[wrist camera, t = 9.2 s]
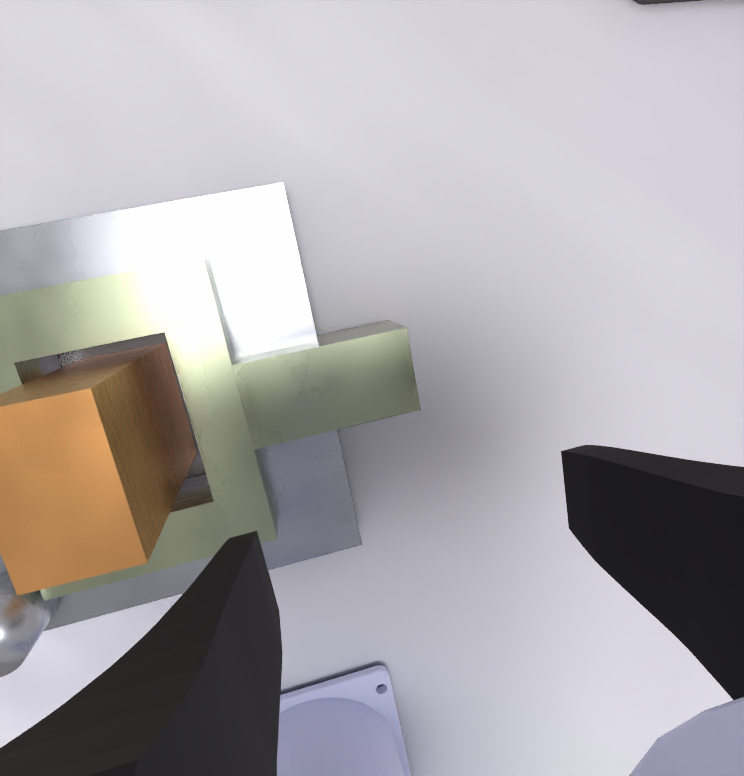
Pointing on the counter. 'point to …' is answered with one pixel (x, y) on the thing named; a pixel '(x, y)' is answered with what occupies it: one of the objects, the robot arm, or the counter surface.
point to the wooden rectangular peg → (90, 466)
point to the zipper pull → (660, 1)
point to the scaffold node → (202, 381)
